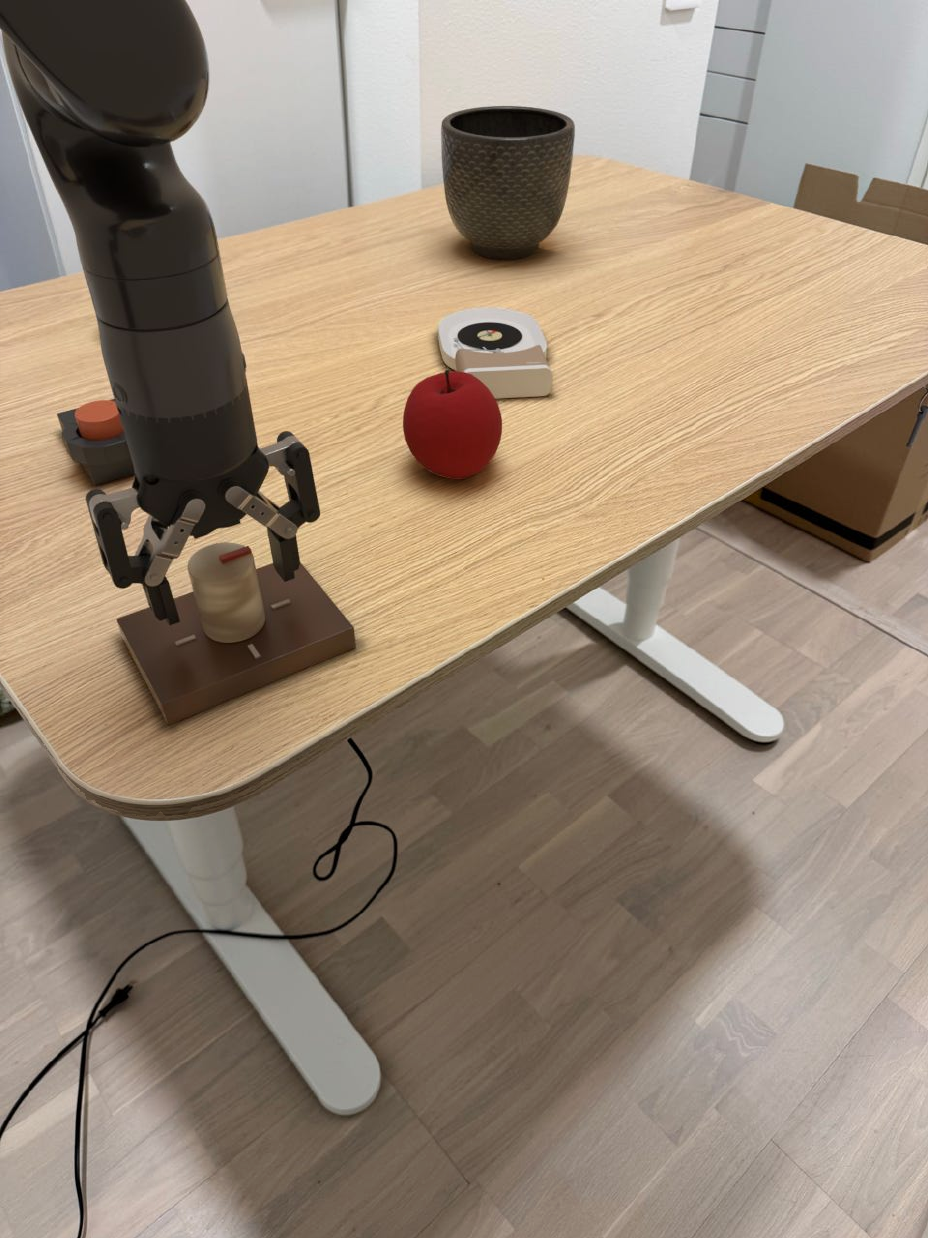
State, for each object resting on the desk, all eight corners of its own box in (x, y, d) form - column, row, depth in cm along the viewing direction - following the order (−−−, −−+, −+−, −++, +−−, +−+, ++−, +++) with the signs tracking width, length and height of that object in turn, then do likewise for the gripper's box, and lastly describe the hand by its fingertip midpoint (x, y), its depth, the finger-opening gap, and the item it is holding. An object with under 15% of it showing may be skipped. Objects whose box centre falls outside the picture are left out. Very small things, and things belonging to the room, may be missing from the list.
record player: (450, 372, 91) (433, 296, 106) (450, 400, 93) (433, 322, 108) (564, 366, 92) (531, 292, 107) (562, 394, 94) (530, 317, 109)
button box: (87, 494, 81) (74, 455, 78) (53, 436, 88) (40, 398, 85) (215, 455, 85) (207, 417, 83) (172, 404, 93) (164, 367, 90)
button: (87, 446, 80) (81, 426, 78) (75, 427, 82) (69, 407, 81) (132, 434, 81) (127, 413, 80) (119, 415, 84) (113, 395, 82)
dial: (216, 651, 62) (199, 586, 59) (193, 616, 65) (176, 551, 61) (275, 628, 64) (263, 564, 60) (251, 595, 67) (238, 531, 63)
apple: (521, 475, 83) (526, 374, 76) (434, 504, 79) (432, 400, 73) (470, 431, 89) (470, 333, 82) (387, 456, 85) (381, 356, 79)
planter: (449, 225, 133) (448, 103, 123) (566, 229, 132) (575, 106, 122) (435, 269, 121) (432, 136, 110) (565, 274, 119) (575, 140, 109)
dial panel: (168, 725, 60) (161, 703, 59) (122, 639, 66) (115, 617, 65) (356, 647, 66) (353, 625, 64) (297, 574, 72) (294, 553, 71)
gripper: (268, 329, 58) (299, 535, 68) (36, 386, 52) (110, 602, 63) (320, 375, 53) (344, 589, 64) (72, 444, 47) (145, 666, 58)
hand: (228, 595), depth 63 cm, fingers open, 8 cm apart
